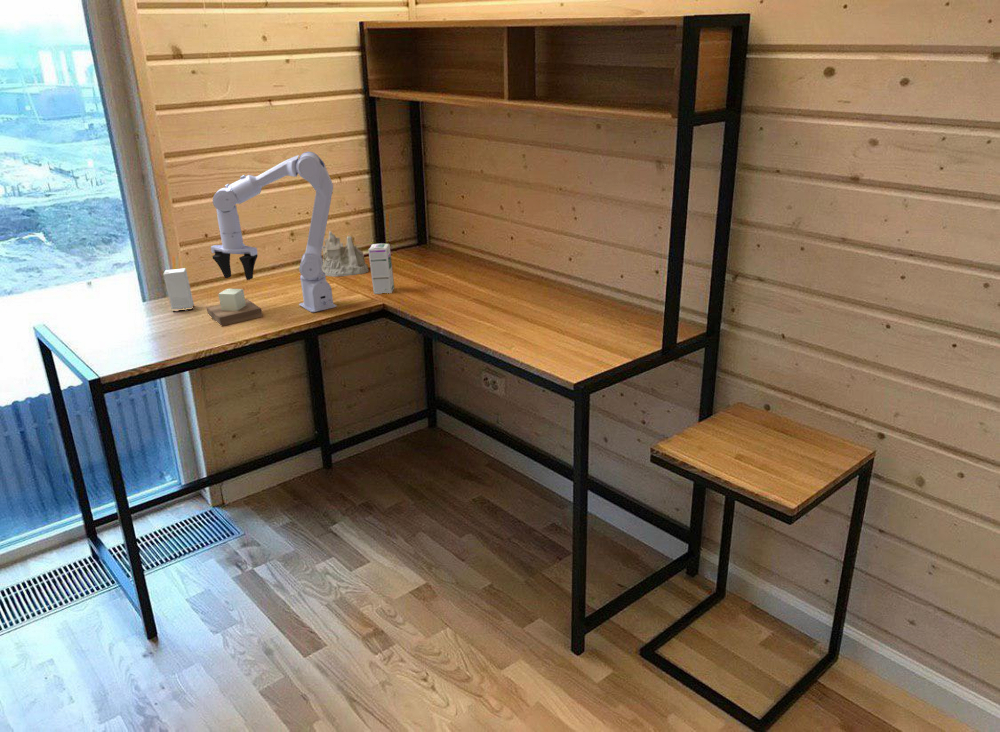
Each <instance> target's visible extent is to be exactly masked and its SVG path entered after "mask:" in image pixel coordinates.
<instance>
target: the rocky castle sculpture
mask: <svg viewBox="0 0 1000 732" xmlns="http://www.w3.org/2000/svg"><path fill="white" fill-rule="evenodd" d="M322 259H323V265H322V271H323V272H324V273H325V276H326V277H345V276H346V277H347V276H349V275H350V276H358V275H357V274H360V275H364V274H366V273H368V272H369V267H368V264H367V263H366V260H365V255H364V252H363V251H362V250H360V249H359V248H358V247H357V246H355V245H354V243H353V237H352V236H349V235H348V236H347V237H346V243H345V246H344V243H343V242H341V239H340V236H337V237H336V234H333V232H332V231H328V238H324V245H323V247H322ZM350 276H349V277H350Z"/></svg>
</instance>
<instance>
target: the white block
mask: <svg viewBox="0 0 1000 732" xmlns="http://www.w3.org/2000/svg"><path fill="white" fill-rule="evenodd" d="M244 292H245V291H244V289H243V288H226V289H224V290H222V291H220V292H219V293H218V300H219V305H220V306H221V310H223V311H238V310H240V309H241V308H243V307H244V306H246V302H245V299H246V298H245V293H244Z"/></svg>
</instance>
